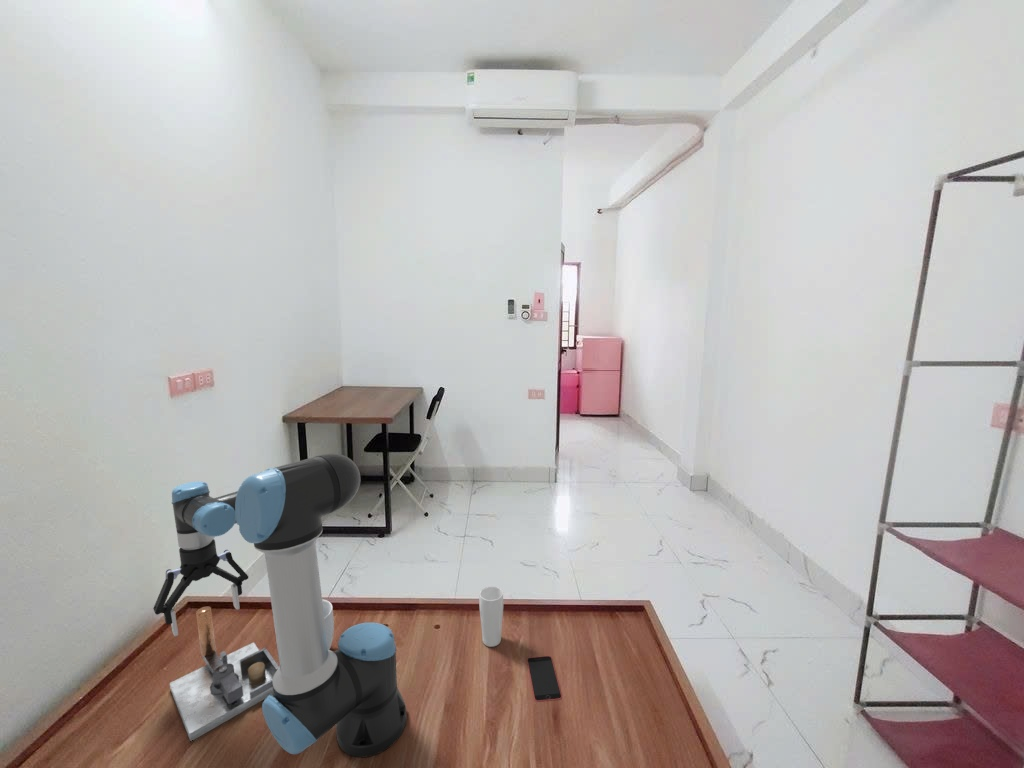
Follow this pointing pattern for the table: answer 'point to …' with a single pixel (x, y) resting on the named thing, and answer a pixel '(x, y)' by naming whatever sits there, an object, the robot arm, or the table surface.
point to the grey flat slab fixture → (207, 703)
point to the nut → (256, 673)
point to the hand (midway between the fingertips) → (207, 619)
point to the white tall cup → (491, 615)
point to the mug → (328, 621)
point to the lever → (216, 658)
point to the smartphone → (543, 679)
